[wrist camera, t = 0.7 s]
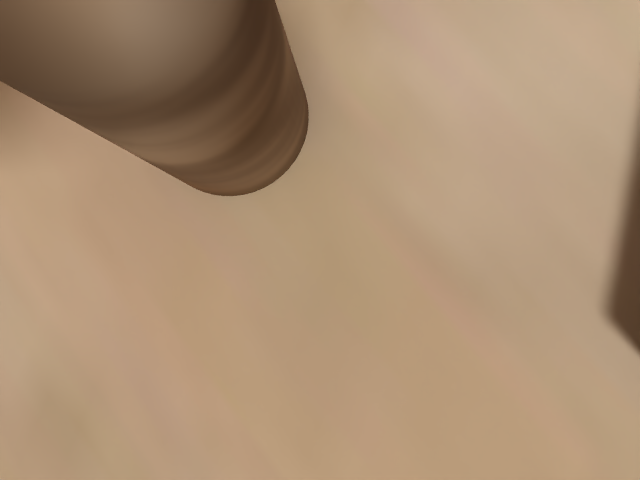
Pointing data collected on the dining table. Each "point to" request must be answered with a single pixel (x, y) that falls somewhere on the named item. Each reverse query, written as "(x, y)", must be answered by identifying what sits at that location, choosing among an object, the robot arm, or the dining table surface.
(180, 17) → the post
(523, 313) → the dining table surface
